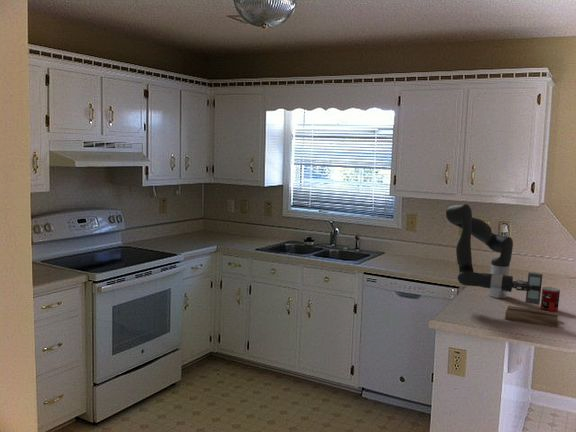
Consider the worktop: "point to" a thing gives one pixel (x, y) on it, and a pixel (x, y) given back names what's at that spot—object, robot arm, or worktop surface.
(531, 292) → the grey rectangular block
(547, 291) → the canned food
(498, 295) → the robot arm
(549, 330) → the worktop surface
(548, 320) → the brown grooved block
